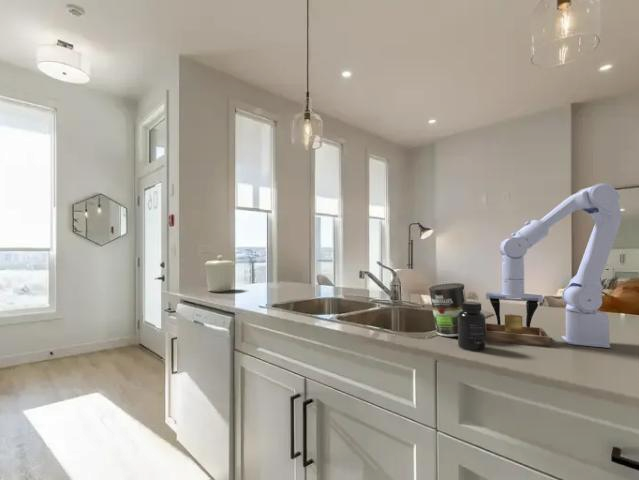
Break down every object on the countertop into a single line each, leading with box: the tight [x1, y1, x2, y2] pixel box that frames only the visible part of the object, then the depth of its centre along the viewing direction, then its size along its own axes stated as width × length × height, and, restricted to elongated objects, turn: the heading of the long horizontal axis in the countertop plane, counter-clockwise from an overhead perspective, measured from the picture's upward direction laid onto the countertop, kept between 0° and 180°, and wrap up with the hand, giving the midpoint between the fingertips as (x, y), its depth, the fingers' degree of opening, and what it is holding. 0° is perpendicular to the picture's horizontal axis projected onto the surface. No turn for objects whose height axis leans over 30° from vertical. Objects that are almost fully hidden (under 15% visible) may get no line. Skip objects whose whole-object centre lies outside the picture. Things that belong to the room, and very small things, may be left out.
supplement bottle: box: [457, 300, 487, 352], centre depth 93 cm, size 7×7×12 cm
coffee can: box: [428, 282, 467, 338], centre depth 107 cm, size 10×10×14 cm
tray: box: [486, 322, 551, 348], centre depth 102 cm, size 16×12×3 cm
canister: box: [203, 254, 236, 293], centre depth 208 cm, size 18×18×21 cm
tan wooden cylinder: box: [504, 313, 523, 334], centre depth 102 cm, size 4×4×6 cm
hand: (513, 325), depth 102 cm, fingers open, 7 cm apart
